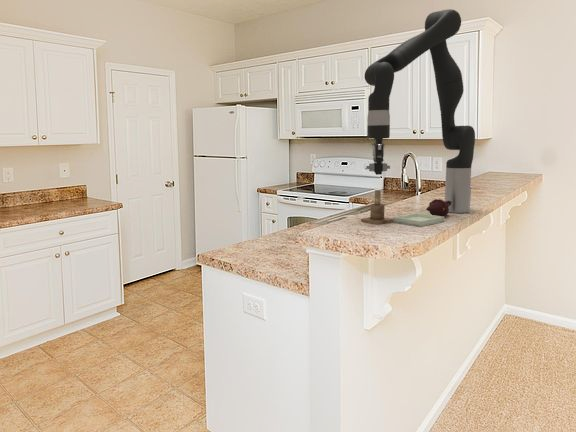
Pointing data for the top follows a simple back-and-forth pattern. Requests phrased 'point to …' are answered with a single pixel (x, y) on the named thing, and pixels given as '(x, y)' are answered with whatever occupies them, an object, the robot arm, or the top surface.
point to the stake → (377, 212)
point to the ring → (372, 167)
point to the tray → (418, 219)
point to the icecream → (439, 207)
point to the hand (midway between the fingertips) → (377, 173)
